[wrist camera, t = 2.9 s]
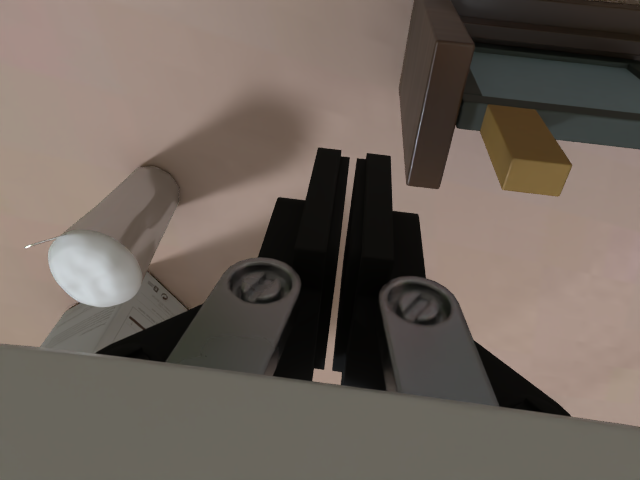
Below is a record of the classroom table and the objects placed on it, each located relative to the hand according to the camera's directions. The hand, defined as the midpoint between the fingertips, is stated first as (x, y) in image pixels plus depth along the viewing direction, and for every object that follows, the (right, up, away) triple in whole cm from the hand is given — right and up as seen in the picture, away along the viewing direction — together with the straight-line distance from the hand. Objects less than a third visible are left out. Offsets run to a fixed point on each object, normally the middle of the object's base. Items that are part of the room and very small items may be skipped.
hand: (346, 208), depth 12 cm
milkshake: (-11, +3, +19) cm, 22 cm away
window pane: (+9, +8, +11) cm, 16 cm away
